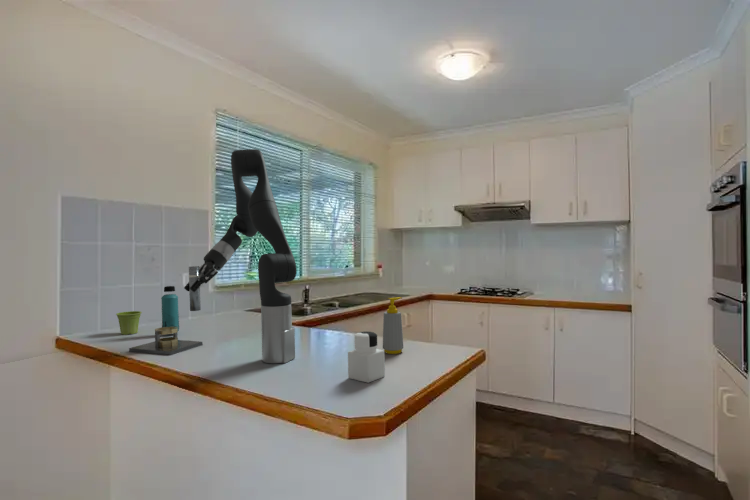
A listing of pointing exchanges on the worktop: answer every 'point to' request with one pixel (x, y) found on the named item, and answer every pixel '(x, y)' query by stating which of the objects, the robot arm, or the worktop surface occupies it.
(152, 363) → the worktop surface
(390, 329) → the soap bottle
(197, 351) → the worktop surface
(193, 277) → the glossy dome-topped cylinder
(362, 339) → the medicine bottle
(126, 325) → the plant pot
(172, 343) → the dark square plate
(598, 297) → the worktop surface
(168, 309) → the beverage bottle
